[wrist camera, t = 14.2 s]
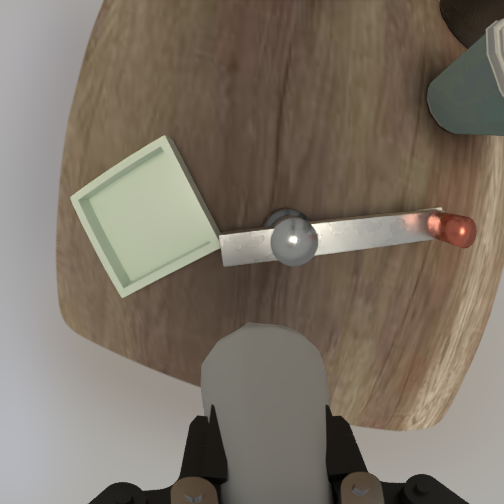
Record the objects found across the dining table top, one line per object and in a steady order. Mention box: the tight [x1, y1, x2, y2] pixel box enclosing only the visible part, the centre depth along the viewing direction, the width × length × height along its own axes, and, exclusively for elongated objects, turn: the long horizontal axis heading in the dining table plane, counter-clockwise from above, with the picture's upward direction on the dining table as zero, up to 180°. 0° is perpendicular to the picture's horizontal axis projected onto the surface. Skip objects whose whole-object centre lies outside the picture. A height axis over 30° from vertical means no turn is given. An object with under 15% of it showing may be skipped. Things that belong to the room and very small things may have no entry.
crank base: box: [262, 208, 310, 227], centre depth 27 cm, size 4×4×2 cm
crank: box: [219, 209, 476, 267], centre depth 22 cm, size 20×4×7 cm, turn 97°
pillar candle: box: [440, 0, 504, 49], centre depth 15 cm, size 10×10×15 cm
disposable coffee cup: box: [427, 19, 504, 136], centre depth 18 cm, size 11×11×15 cm
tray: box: [70, 135, 221, 298], centre depth 26 cm, size 10×10×3 cm
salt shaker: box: [201, 322, 334, 504], centre depth 9 cm, size 6×6×13 cm
